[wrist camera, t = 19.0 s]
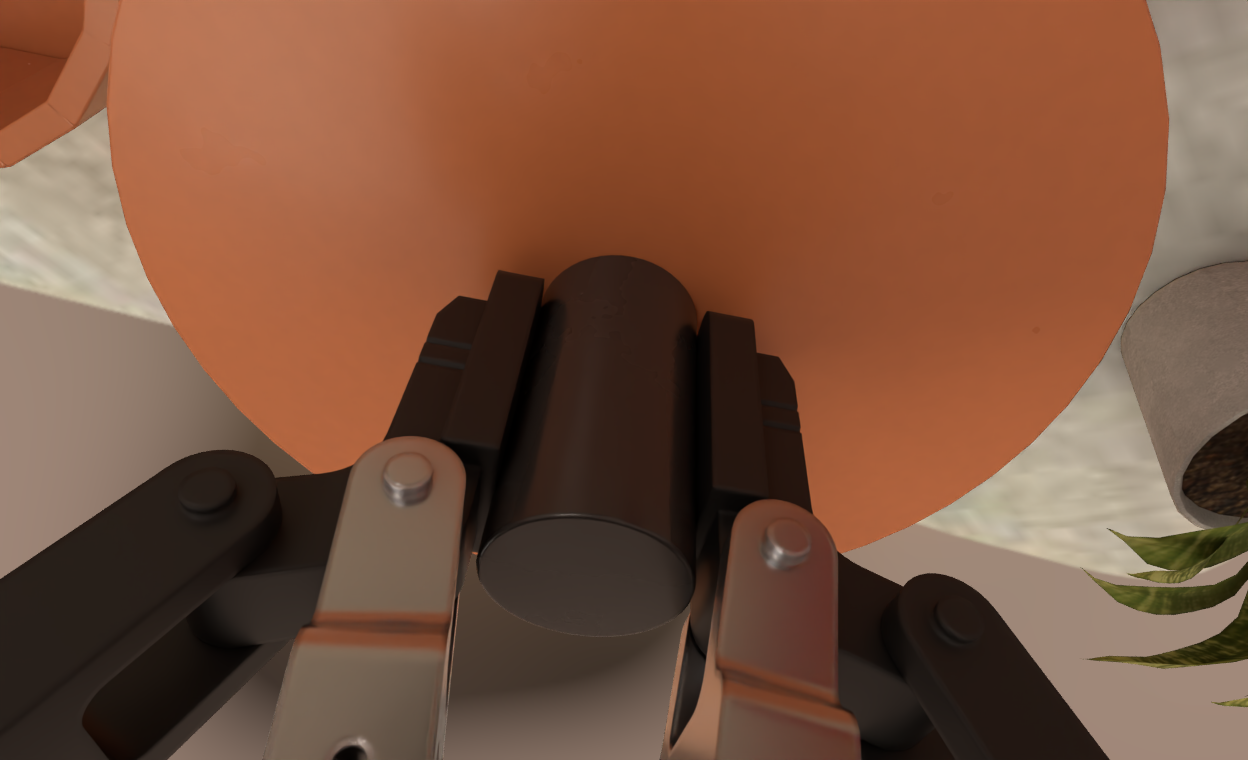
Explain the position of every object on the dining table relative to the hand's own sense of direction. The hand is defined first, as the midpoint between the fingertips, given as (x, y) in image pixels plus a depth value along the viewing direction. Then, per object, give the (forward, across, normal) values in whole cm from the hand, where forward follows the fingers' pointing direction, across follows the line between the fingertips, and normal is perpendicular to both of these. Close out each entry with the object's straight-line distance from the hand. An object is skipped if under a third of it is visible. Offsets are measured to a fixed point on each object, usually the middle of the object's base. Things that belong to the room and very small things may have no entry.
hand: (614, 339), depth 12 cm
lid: (+1, 0, 0) cm, 1 cm away
